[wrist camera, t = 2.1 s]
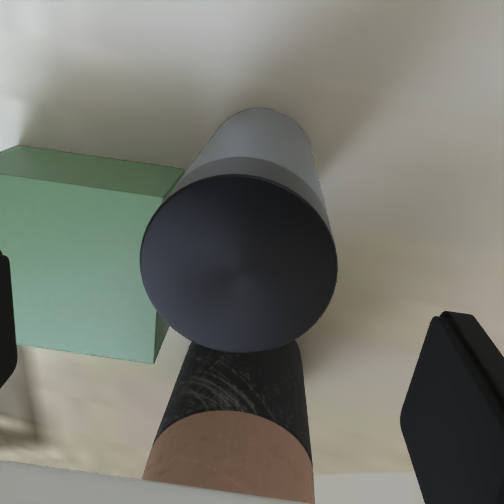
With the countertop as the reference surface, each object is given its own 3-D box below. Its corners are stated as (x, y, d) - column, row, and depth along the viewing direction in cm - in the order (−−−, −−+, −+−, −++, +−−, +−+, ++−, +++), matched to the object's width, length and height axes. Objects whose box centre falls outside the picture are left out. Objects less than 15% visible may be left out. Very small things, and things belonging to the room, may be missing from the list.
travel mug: (174, 391, 31) (18, 883, 13) (197, 293, 28) (36, 759, 10) (286, 418, 32) (287, 936, 13) (321, 325, 28) (387, 832, 10)
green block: (17, 144, 25) (-42, 167, 21) (185, 168, 25) (163, 197, 21) (28, 292, 29) (-20, 339, 24) (174, 313, 29) (153, 364, 24)
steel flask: (237, 87, 23) (187, 134, 11) (332, 140, 24) (377, 235, 12) (192, 181, 25) (110, 304, 14) (280, 227, 26) (276, 381, 14)
